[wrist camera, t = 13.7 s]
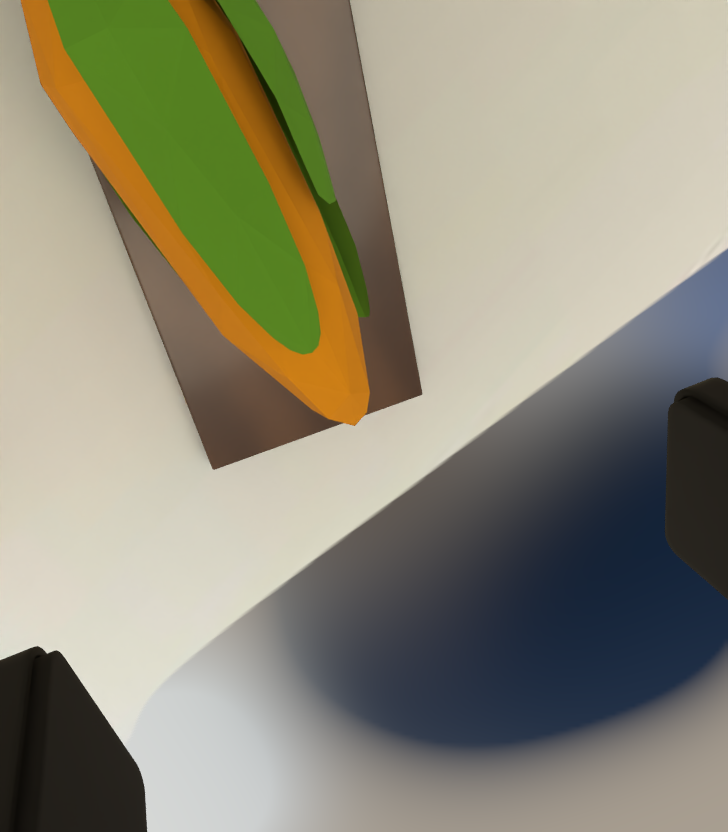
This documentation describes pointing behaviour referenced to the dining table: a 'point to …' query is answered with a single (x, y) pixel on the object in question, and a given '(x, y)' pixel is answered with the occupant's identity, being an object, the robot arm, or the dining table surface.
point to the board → (370, 229)
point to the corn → (218, 175)
